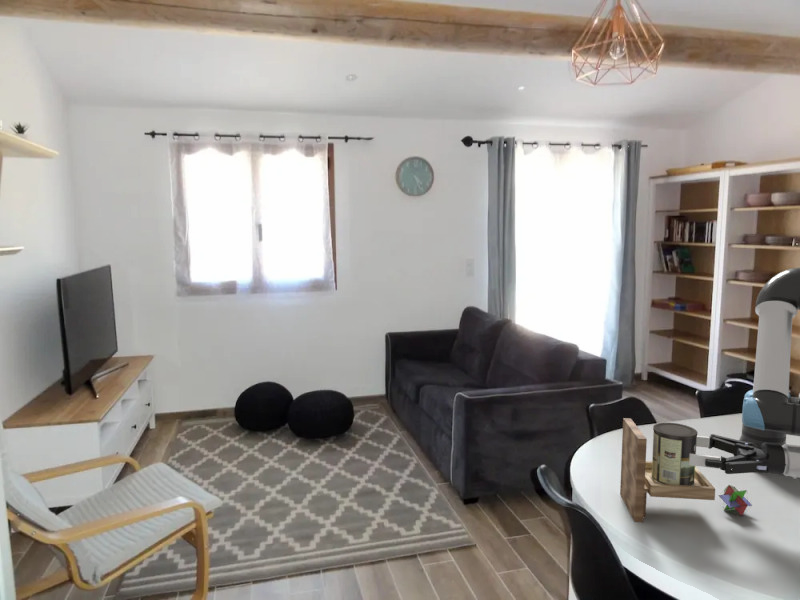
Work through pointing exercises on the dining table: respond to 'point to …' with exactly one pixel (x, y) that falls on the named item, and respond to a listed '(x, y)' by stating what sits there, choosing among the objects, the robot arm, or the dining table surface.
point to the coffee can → (673, 454)
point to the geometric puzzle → (735, 500)
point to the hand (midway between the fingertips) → (685, 448)
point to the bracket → (639, 476)
